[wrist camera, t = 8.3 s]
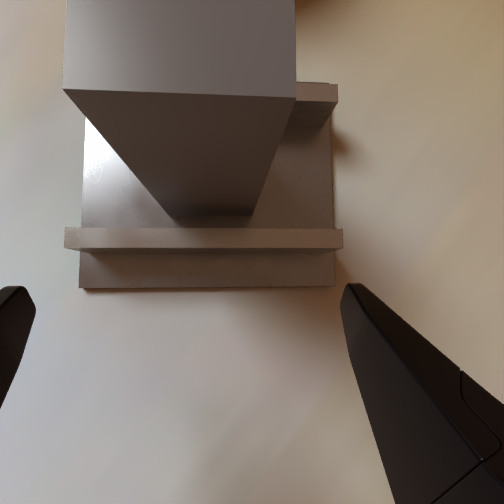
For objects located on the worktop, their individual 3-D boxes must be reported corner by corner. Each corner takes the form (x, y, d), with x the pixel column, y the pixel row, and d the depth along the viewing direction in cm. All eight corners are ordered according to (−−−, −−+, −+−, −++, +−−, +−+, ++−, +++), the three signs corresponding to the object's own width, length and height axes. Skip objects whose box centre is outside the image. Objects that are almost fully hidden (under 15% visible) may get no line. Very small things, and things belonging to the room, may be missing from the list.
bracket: (332, 286, 21) (353, 286, 17) (82, 288, 20) (51, 288, 16) (326, 87, 22) (345, 50, 19) (90, 78, 21) (64, 37, 17)
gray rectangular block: (252, 216, 20) (296, 97, 7) (168, 215, 20) (61, 88, 7) (251, 139, 21) (292, -99, 8) (170, 136, 20) (72, -116, 8)
